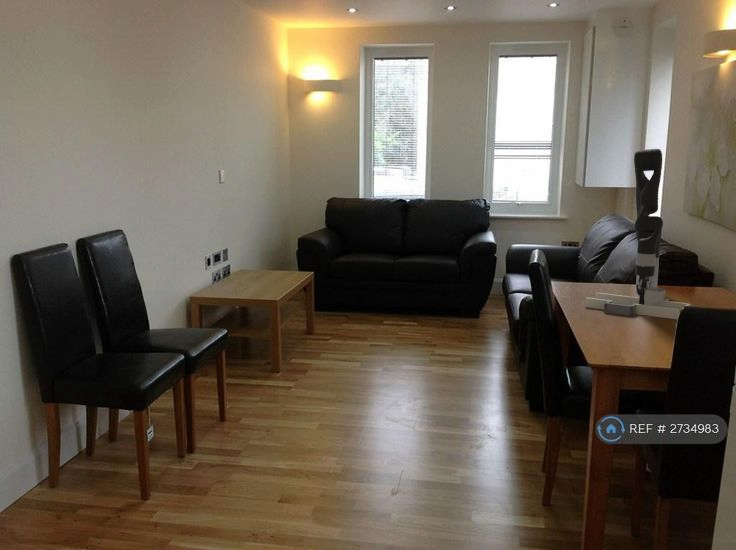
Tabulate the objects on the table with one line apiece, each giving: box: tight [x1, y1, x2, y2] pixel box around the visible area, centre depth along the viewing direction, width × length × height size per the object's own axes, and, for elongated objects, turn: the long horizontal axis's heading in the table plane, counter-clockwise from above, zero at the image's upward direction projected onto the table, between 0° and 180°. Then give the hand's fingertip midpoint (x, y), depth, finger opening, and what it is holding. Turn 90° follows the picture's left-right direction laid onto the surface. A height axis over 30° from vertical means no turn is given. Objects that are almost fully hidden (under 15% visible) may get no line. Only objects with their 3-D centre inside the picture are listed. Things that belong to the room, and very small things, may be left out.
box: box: [584, 292, 692, 320], centre depth 273 cm, size 25×39×4 cm, turn 52°
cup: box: [644, 287, 667, 307], centre depth 267 cm, size 8×8×10 cm
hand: (642, 304), depth 271 cm, fingers closed
